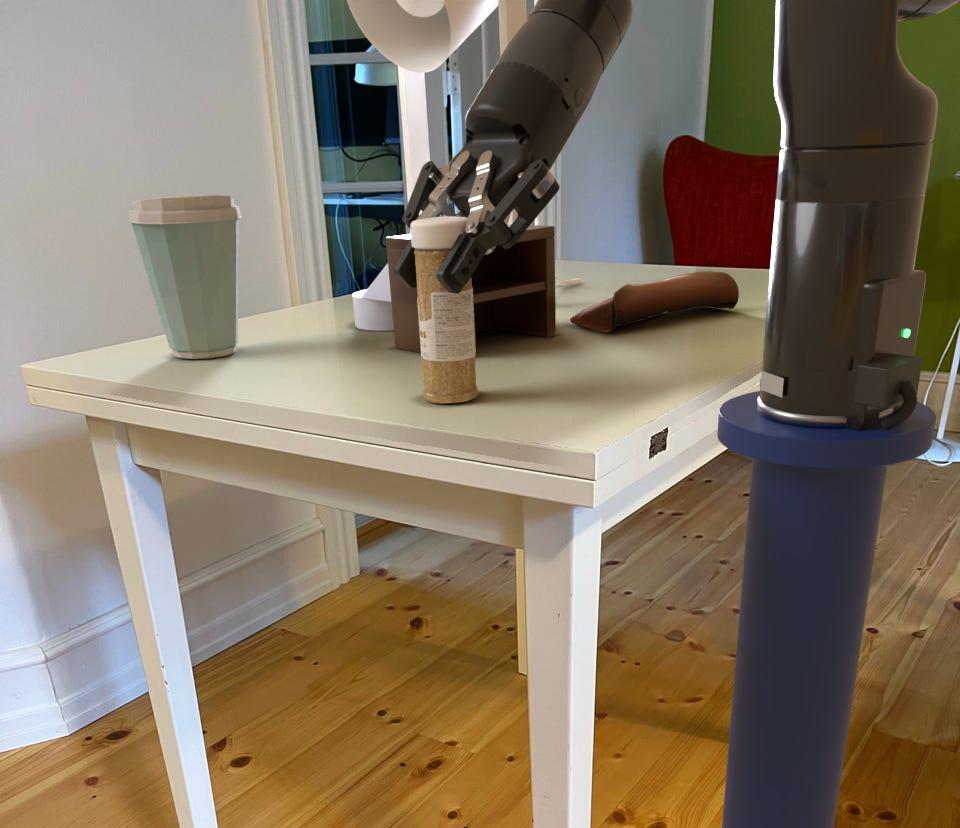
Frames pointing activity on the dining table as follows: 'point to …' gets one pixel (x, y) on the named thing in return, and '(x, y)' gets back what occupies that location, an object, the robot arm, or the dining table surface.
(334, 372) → the dining table surface
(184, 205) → the disposable coffee cup
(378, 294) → the wedge on round base
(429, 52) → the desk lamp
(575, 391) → the dining table surface
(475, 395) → the sprinkles bottle
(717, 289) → the sunglasses case
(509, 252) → the shelf
